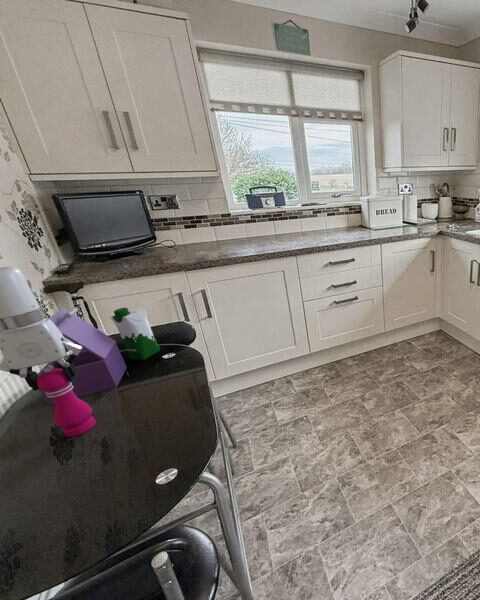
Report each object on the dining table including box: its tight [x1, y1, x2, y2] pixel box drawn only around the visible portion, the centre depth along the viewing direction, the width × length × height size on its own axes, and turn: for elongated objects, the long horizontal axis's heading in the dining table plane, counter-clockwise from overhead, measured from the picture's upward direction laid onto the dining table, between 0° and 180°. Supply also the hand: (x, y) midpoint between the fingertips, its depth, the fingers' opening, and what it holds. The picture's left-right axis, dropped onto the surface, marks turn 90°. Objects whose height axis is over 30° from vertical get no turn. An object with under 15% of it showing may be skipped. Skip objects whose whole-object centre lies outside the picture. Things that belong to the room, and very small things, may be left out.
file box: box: [37, 343, 128, 407], centre depth 108 cm, size 17×14×10 cm
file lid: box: [48, 307, 117, 360], centre depth 105 cm, size 18×14×5 cm
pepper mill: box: [37, 365, 97, 438], centre depth 85 cm, size 7×7×20 cm
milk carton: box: [109, 307, 161, 361], centre depth 124 cm, size 9×9×20 cm
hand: (55, 382), depth 84 cm, fingers closed on pepper mill, 6 cm apart
